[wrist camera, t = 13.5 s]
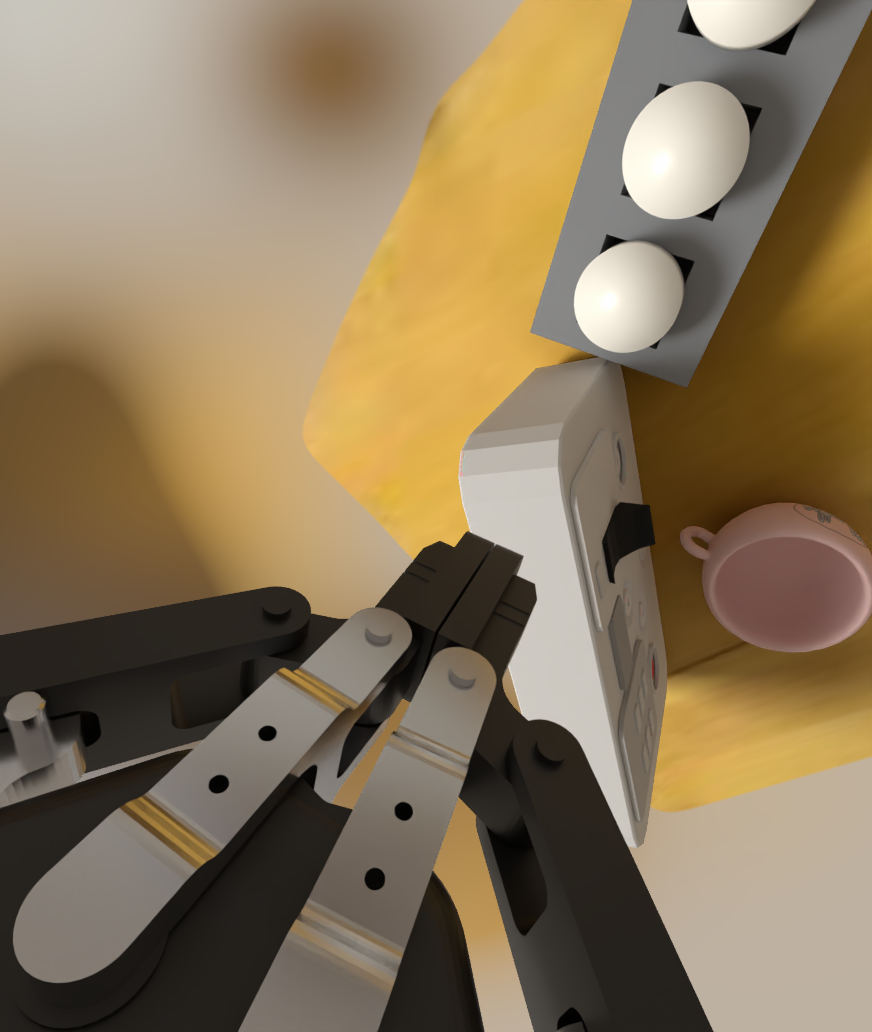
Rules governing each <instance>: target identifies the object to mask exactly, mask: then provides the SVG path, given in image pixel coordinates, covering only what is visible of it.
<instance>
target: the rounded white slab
mask: <svg viewBox="0 0 872 1032" xmlns="http://www.w3.org/2000/svg"><path fill="white" fill-rule="evenodd" d="M459 484H460V490H461V497H462V503H463V507H464V511H465V514H466V518H467V521H468V525H469V528H470V532H471V533H473V534H475V535H478V536H480V537H482V538H484V539H487V540H489V541H491V542H493V543H495V545H496V544H498V545H500V546H503V547H505V548H507V549H509V550H512V551H514V552H516V553H518V554H521V555H523V556H524V557H523V560H522V563H521V566H520V568H519V571H518V573H517V576H519V577H521V578H523V579H526V580H528V581H530V582H532V583H534V584H535V587H536V595H537V602H536V604H535V607H534V609H533V611H532V614H531V616H530V618H529V621H528V623H527V625H526V628H525V630H524V632H523V635H522V637H521V639H520V642H519V644H518V646H517V648H516V650H515V652H514V655H513V657H512V659H511V661H510V663H509V665H508V667H509V670H510V674H511V677H512V681H513V684H514V688H515V691H516V695H517V698H518V702H519V706H520V709H521V712H522V715H523V716H524V717H525V718H526V719H527V720H528V721H530V720H535V719H543V720H549V721H552V722H555V723H557V724H559V725H561V726H563V727H564V728H566V729H567V730H568V731H569V732H571V733H572V734H573V735H574V737H575V738H576V739H577V740H578V742H579V743H580V745H581V747H582V749H583V751H584V753H585V755H586V757H587V759H588V762H589V764H590V766H591V768H592V770H593V772H594V775H595V777H596V779H597V781H598V783H599V785H600V788H601V790H602V792H603V794H604V796H605V798H606V801H607V803H608V805H609V807H610V809H611V811H612V814H613V816H614V818H615V820H616V822H617V824H618V826H619V829H620V831H621V833H622V835H623V837H624V839H625V842H626V844H627V846H630V847H635V848H638V847H639V846H641V845H642V844H643V843H644V838H645V834H646V830H647V824H648V817H649V810H650V803H651V796H652V789H653V782H654V775H655V768H656V761H657V754H658V748H659V741H660V734H661V727H662V720H663V713H664V706H665V699H666V691H667V659H666V650H665V644H664V637H663V630H662V624H661V617H660V611H659V604H658V598H657V591H656V585H655V578H654V572H653V565H652V559H651V552H650V546H651V545H654V544H655V539H654V532H653V525H652V518H651V512H650V505H643V500H642V493H641V487H640V480H639V473H638V467H637V460H636V454H635V447H634V441H633V434H632V428H631V421H630V415H629V408H628V402H627V395H626V388H625V383H624V378H623V373H622V369H621V365H620V364H618V363H615V362H612V361H610V360H607V359H604V358H601V357H596V358H591V359H585V360H580V361H575V362H569V363H564V364H558V365H553V366H547V367H542V368H536V369H535V370H534V371H533V372H532V373H531V374H530V375H529V376H528V377H527V378H526V379H525V380H524V381H523V382H522V383H521V384H520V385H519V386H518V387H517V388H516V389H515V390H514V391H513V392H512V393H511V394H510V395H509V396H508V397H507V398H506V399H505V400H504V401H503V402H502V403H501V404H500V405H499V406H498V407H497V408H496V409H495V410H494V411H493V412H492V413H491V414H490V415H489V416H488V417H487V418H486V419H485V420H484V421H483V422H482V423H481V424H480V425H479V426H478V427H477V428H476V429H475V430H474V431H473V432H472V433H471V434H470V435H469V436H468V438H467V440H466V442H465V444H464V447H463V449H462V451H461V454H460V466H459ZM495 545H494V546H495Z"/></svg>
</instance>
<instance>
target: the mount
mask: <svg viewBox="0 0 872 1032" xmlns="http://www.w3.org/2000/svg"><path fill="white" fill-rule="evenodd" d="M871 10H872V0H816V1H815V3H814V4H813V6H812V7H811V8H810V10H809V11H808V12H807V14H806V15H805V16H804V17H803V18H802V19H801V20H800V22H799V23H798V24H797V25H795V26H794V27H793V28H792V29H791V30H790V31H789V32H787V33H786V34H785V35H783V36H782V37H781V38H779V39H777V40H776V41H774V42H772V43H770V44H768V45H766V46H763V47H761V48H758V49H754V50H750V51H741V52H734V51H727V50H724V49H721V48H718V47H716V46H714V45H713V44H711V43H710V42H709V41H707V40H706V39H705V38H704V37H703V36H702V35H701V33H700V32H699V30H698V29H697V27H696V25H695V23H694V21H693V18H692V15H691V13H690V10H689V6H688V3H687V0H632V4H631V7H630V10H629V13H628V17H627V20H626V23H625V26H624V29H623V33H622V36H621V39H620V42H619V46H618V49H617V52H616V55H615V59H614V62H613V65H612V68H611V72H610V75H609V78H608V81H607V85H606V88H605V91H604V94H603V98H602V101H601V104H600V107H599V111H598V114H597V117H596V120H595V124H594V127H593V130H592V133H591V137H590V140H589V143H588V146H587V150H586V153H585V156H584V159H583V162H582V166H581V169H580V172H579V175H578V179H577V182H576V185H575V188H574V192H573V195H572V198H571V201H570V205H569V208H568V211H567V214H566V218H565V221H564V224H563V227H562V231H561V234H560V237H559V240H558V244H557V247H556V250H555V253H554V257H553V260H552V263H551V266H550V270H549V273H548V276H547V279H546V282H545V286H544V289H543V292H542V295H541V299H540V302H539V305H538V308H537V312H536V315H535V318H534V321H533V325H532V328H531V331H530V333H533V334H536V335H539V336H542V337H544V338H547V339H550V340H553V341H556V342H559V343H561V344H564V345H567V346H570V347H573V348H576V349H578V350H581V351H584V352H587V353H590V354H593V355H595V356H598V357H601V358H604V359H607V360H610V361H612V362H615V363H618V364H621V365H624V366H627V367H629V368H632V369H635V370H638V371H641V372H643V373H646V374H649V375H652V376H655V377H658V378H660V379H663V380H666V381H669V382H672V383H675V384H677V385H680V386H683V387H686V388H687V386H688V384H689V382H690V380H691V378H692V376H693V374H694V372H695V370H696V368H697V366H698V364H699V362H700V360H701V358H702V356H703V354H704V352H705V350H706V347H707V345H708V343H709V341H710V339H711V337H712V335H713V333H714V331H715V329H716V327H717V325H718V323H719V321H720V319H721V317H722V315H723V313H724V311H725V309H726V307H727V305H728V303H729V300H730V298H731V296H732V294H733V292H734V290H735V288H736V286H737V284H738V282H739V280H740V278H741V276H742V274H743V272H744V270H745V268H746V266H747V264H748V262H749V260H750V258H751V255H752V253H753V251H754V249H755V247H756V245H757V243H758V241H759V239H760V237H761V235H762V233H763V231H764V229H765V227H766V225H767V223H768V221H769V219H770V217H771V215H772V213H773V210H774V208H775V206H776V204H777V202H778V200H779V198H780V196H781V194H782V192H783V190H784V188H785V186H786V184H787V182H788V180H789V178H790V176H791V174H792V172H793V170H794V168H795V166H796V163H797V161H798V159H799V157H800V155H801V153H802V151H803V149H804V147H805V145H806V143H807V141H808V139H809V137H810V135H811V133H812V131H813V129H814V127H815V125H816V123H817V121H818V118H819V116H820V114H821V112H822V110H823V108H824V106H825V104H826V102H827V100H828V98H829V96H830V94H831V92H832V90H833V88H834V86H835V84H836V82H837V80H838V78H839V76H840V73H841V71H842V69H843V67H844V65H845V63H846V61H847V59H848V57H849V55H850V53H851V51H852V49H853V47H854V45H855V43H856V41H857V39H858V37H859V35H860V33H861V31H862V28H863V26H864V24H865V22H866V20H867V18H868V16H869V14H870V12H871ZM693 81H703V82H710V83H714V84H717V85H719V86H721V87H723V88H725V89H727V90H728V91H729V92H731V93H732V94H733V95H734V96H735V97H736V98H737V99H738V101H739V102H740V104H741V105H742V107H743V109H744V111H745V114H746V116H747V120H748V124H749V132H750V142H749V149H748V154H747V158H746V162H745V164H744V167H743V169H742V171H741V173H740V175H739V177H738V179H737V180H736V182H735V184H734V185H733V187H732V188H731V189H730V190H729V191H728V193H727V194H726V195H725V196H724V197H723V198H722V199H721V200H720V201H718V202H717V203H716V204H715V205H713V206H712V207H710V208H709V209H707V210H705V211H703V212H701V213H699V214H697V215H694V216H691V217H688V218H683V219H664V218H659V217H656V216H654V215H651V214H649V213H648V212H646V211H644V210H643V209H642V208H641V207H639V206H638V205H637V204H636V202H635V201H634V200H633V199H632V197H631V196H630V194H629V192H628V190H627V188H626V185H625V182H624V177H623V170H622V157H623V150H624V145H625V142H626V138H627V136H628V133H629V131H630V129H631V127H632V125H633V123H634V121H635V120H636V118H637V117H638V115H639V114H640V113H641V111H642V110H643V109H644V108H645V107H646V106H647V105H648V104H649V103H650V102H651V101H652V100H653V99H654V98H655V97H657V96H658V95H659V94H661V93H662V92H664V91H666V90H667V89H669V88H672V87H674V86H676V85H679V84H683V83H687V82H693ZM635 240H640V241H648V242H652V243H654V244H657V245H659V246H661V247H663V248H664V249H666V250H667V251H668V252H669V253H670V254H671V255H672V256H673V257H674V258H675V260H676V261H677V263H678V264H679V266H680V268H681V271H682V274H683V279H684V297H683V302H682V305H681V308H680V310H679V313H678V315H677V317H676V319H675V321H674V323H673V325H672V326H671V328H670V329H669V331H668V332H667V333H666V334H665V335H664V336H663V337H662V338H661V339H660V340H658V341H657V342H656V343H654V344H653V345H651V346H649V347H647V348H645V349H642V350H639V351H635V352H629V353H618V352H612V351H608V350H605V349H603V348H601V347H599V346H597V345H596V344H594V343H593V342H592V341H590V340H589V339H588V338H587V337H586V335H585V334H584V333H583V331H582V330H581V328H580V326H579V324H578V322H577V319H576V315H575V310H574V296H575V290H576V286H577V283H578V281H579V279H580V277H581V275H582V273H583V271H584V270H585V269H586V267H587V266H588V265H589V264H590V263H591V262H592V261H593V260H594V259H595V258H596V257H597V256H599V255H600V254H602V253H603V252H605V251H606V250H608V249H609V248H611V247H613V246H615V245H617V244H620V243H623V242H627V241H635Z"/></svg>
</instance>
